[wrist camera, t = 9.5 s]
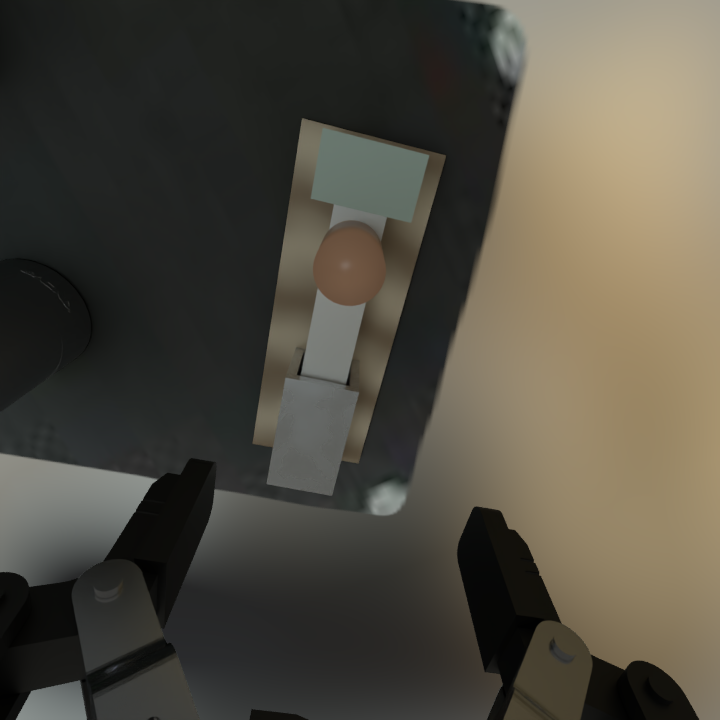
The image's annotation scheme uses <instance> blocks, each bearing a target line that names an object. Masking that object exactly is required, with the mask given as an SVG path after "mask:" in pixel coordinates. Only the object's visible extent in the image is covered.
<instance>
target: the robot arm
mask: <svg viewBox="0 0 720 720" xmlns="http://www.w3.org/2000/svg"><path fill="white" fill-rule="evenodd" d="M90 335H91V321H90V316H89V312H88V310H87V308H86V305H85V303H84V301H83V299H82V298H81V296H80V295H79V294H78V292H77V291H76V289H75V288H74V287H73V286H72V285H71V284H70V283H69V282H68V281H67V280H66V279H64V278H63V277H62V276H61V275H59V274H58V273H57V272H55V271H53V270H51V269H50V268H48V267H46V266H44V265H42V264H39V263H36V262H33V261H29V260H22V259H5V260H2V261H0V412H1V411H3V410H4V409H5V408H7V407H8V406H10V405H11V404H12V403H14V402H15V401H17V400H18V399H19V398H21V397H22V396H24V395H25V394H26V393H28V392H29V391H31V390H32V389H33V388H35V387H36V386H38V385H39V384H40V383H42V382H43V381H45V380H46V379H48V378H49V377H51V376H52V375H53V374H55V373H56V372H58V371H59V370H60V369H62V368H63V367H64V366H66V365H67V364H69V363H70V362H71V361H73V360H74V359H76V358H77V357H78V356H79V355H80V354H81V353H82V352H83V351H84V350H85V348H86V346H87V345H88V343H89V339H90ZM215 477H216V462H211V461H205V460H199V459H193V458H191V459H189V461H188V462H187V464H186V466H185V468H184V470H183V471H182V473H181V475H178V474H172V473H167V474H165V475H164V476H162V477H161V478H160V479H158V480H157V481H156V482H154V483H153V484H152V485H151V487H150V488H149V490H148V492H147V493H146V495H145V497H144V499H143V501H141V503H140V504H139V506H138V508H137V509H136V512H135V513H134V514H133V516H132V517H131V519H130V520H129V522H128V524H127V525H126V527H125V528H124V530H123V532H122V533H121V535H120V536H119V538H118V539H117V541H116V543H115V544H114V546H113V548H112V549H111V551H110V552H109V554H108V555H107V557H106V558H105V560H104V561H103V562H100V563H98V564H96V565H94V566H92V567H90V568H89V569H88V570H86V571H85V572H84V573H83V574H82V575H81V576H80V577H79V578H77V579H74V580H71V581H67V582H61V583H55V584H47V585H41V586H33V587H29V586H28V583H27V581H26V579H25V578H24V577H22V576H20V575H18V574H16V573H10V572H0V720H16V718H17V716H18V714H19V713H20V711H21V709H22V707H23V705H24V703H25V701H26V700H27V698H28V696H29V694H30V692H31V691H33V690H37V689H42V688H46V687H51V686H55V685H60V684H65V683H69V682H74V681H78V680H80V682H81V688H82V694H83V699H84V705H85V711H86V716H87V720H200V719H199V716H198V713H197V710H196V707H195V704H194V701H193V698H192V696H191V693H190V690H189V687H188V684H187V681H186V678H185V676H184V673H183V670H182V667H181V664H180V662H179V659H178V656H177V653H176V651H175V649H174V647H173V645H172V644H171V643H169V644H167V643H166V641H165V639H164V636H163V633H162V630H161V628H165V625H166V622H167V620H168V618H169V615H170V613H171V611H172V608H173V606H174V603H175V601H176V599H177V596H178V594H179V591H180V589H181V586H182V584H183V582H184V579H185V577H186V574H187V572H188V569H189V567H190V564H191V562H192V560H193V557H194V555H195V552H196V550H197V547H198V545H199V543H200V540H201V538H202V535H203V533H204V530H205V528H206V526H207V523H208V520H209V517H210V514H211V510H212V505H213V498H214V488H215ZM457 557H458V564H459V568H460V572H461V576H462V581H463V584H464V589H465V592H466V597H467V601H468V605H469V609H470V613H471V617H472V621H473V625H474V630H475V633H476V637H477V642H478V646H479V650H480V654H481V658H482V662H483V666H484V670H485V672H489V673H497V674H500V675H501V679H502V683H503V685H502V687H501V688H500V690H499V692H498V694H497V697H496V699H495V701H494V704H493V706H492V708H491V711H490V713H489V716H488V718H487V720H699V718H698V717H697V716H696V713H695V711H694V709H693V708H692V706H691V704H690V702H689V701H688V699H687V697H686V695H685V694H684V692H683V691H682V689H681V688H680V687H679V686H678V684H677V683H676V682H675V681H674V680H673V679H672V678H671V677H670V676H669V675H668V674H666V673H665V672H664V671H663V670H661V669H660V668H658V667H656V666H655V665H653V664H650V663H648V662H644V661H634V662H631V663H630V664H629V665H628V667H627V668H626V669H625V670H623V669H621V668H619V667H617V666H614V665H612V664H610V663H607V662H605V661H603V660H601V659H599V658H597V657H595V656H593V655H591V654H590V652H589V650H588V648H587V646H586V645H585V643H584V642H583V641H582V639H581V638H580V637H579V636H578V635H577V634H576V633H575V632H574V631H572V630H571V629H570V628H568V627H567V626H565V625H563V624H562V623H561V621H560V619H559V617H558V614H557V612H556V610H555V607H554V605H553V603H552V601H551V598H550V596H549V594H548V592H547V589H546V587H545V584H544V582H543V580H542V578H541V576H539V571H538V568H537V566H536V564H535V563H534V559H533V557H532V555H531V552H530V550H529V548H528V545H527V544H526V543H525V541H524V540H523V539H522V538H521V537H520V536H519V534H518V533H517V532H516V531H515V530H510V529H508V527H507V524H506V522H505V520H504V517H503V515H502V513H501V511H499V510H494V509H488V508H482V507H474V508H473V510H472V512H471V514H470V517H469V519H468V521H467V524H466V526H465V529H464V531H463V533H462V536H461V538H460V541H459V544H458V550H457ZM250 720H308V719H305V718H303V717H301V716H299V715H296V714H288V713H279V712H270V711H262V710H253V709H252V711H251V715H250Z"/></svg>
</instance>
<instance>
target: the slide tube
mask: <svg viewBox="0 0 720 720" xmlns="http://www.w3.org/2000/svg"><path fill="white" fill-rule="evenodd" d="M386 219H387V217H385V216H381V215H376V214H372V213H368V212H364V211H360V210H356V209H352V208H347V207H343V206H339V205H335V204H334V207H333V212H332V217H331V222H330V227H329V231H328V232H327V233H326V235H325V236H324V238H323V240H322V243H321V245H320V247H319V249H318V251H317V254H316V256H315V259H314V263H313V276H314V280H315V283H316V285H317V287H318V289H317V294H316V300H315V305H314V310H313V315H312V320H311V325H310V331H309V336H308V341H307V346H306V351H305V356H304V361H303V367H302V372H301V376H304V377H309V378H313V379H318V380H323V381H328V382H333V383H338V384H343V385H346V382H347V378H348V373H349V369H350V365H351V361H352V357H353V353H354V349H355V345H356V341H357V337H358V333H359V329H360V325H361V321H362V317H363V313H364V308H365V304H366V302H367V301H369V300H371V299H372V298H373V297H374V296H375V295H376V294H377V293H378V292H379V291H380V289H381V288H382V285H383V283H384V280H385V276H386V264H385V260H384V255H383V250H382V245H381V239H382V235H383V231H384V227H385V223H386Z"/></svg>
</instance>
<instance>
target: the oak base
mask: <svg viewBox="0 0 720 720" xmlns="http://www.w3.org/2000/svg"><path fill="white" fill-rule="evenodd" d="M323 128H326V129H330V130H334V131H337V132H341V133H345V134H349V135H353V136H357V137H361V138H365V139H368V140H372V141H376V142H380V143H384V144H388V145H392V146H396V147H399V148H403V149H407V150H411V151H415V152H419V153H423V154H427V155H429V158H428V162H427V166H426V170H425V173H424V177H423V181H422V184H421V188H420V192H419V195H418V199H417V203H416V207H415V210H414V214H413V218H412V221H411V223H409V222H405V221H401V220H397V219H393V218H389V217H387V219H386V223H385V227H384V231H383V235H382V239H381V245H382V250H383V255H384V260H385V264H386V276H385V280H384V283H383V285H382V288H381V289H380V291H379V292H378V293H377V294H376V295H375V296H374V297H373V298H372V299H371V300H369V301H367V302H366V304H365V308H364V313H363V317H362V321H361V325H360V329H359V333H358V337H357V341H356V345H355V349H354V353H353V357H352V359H354V360H359V361H360V363H359V395H358V399H357V402H356V406H355V410H354V414H353V418H352V421H351V425H350V429H349V433H348V437H347V440H346V444H345V448H344V452H343V456H342V459H341V460H342V461H348V462H353V463H359V460H360V456H361V453H362V449H363V446H364V442H365V439H366V435H367V432H368V428H369V424H370V421H371V417H372V414H373V410H374V407H375V403H376V400H377V396H378V393H379V389H380V386H381V382H382V379H383V375H384V372H385V368H386V365H387V361H388V358H389V354H390V351H391V347H392V344H393V340H394V337H395V333H396V330H397V326H398V323H399V319H400V316H401V312H402V309H403V305H404V302H405V298H406V295H407V291H408V288H409V284H410V281H411V277H412V274H413V270H414V267H415V263H416V260H417V256H418V253H419V249H420V246H421V242H422V239H423V235H424V232H425V228H426V225H427V221H428V218H429V214H430V211H431V207H432V204H433V200H434V197H435V193H436V190H437V186H438V183H439V179H440V176H441V172H442V169H443V165H444V162H445V158H446V155H442V154H438V153H434V152H430V151H426V150H422V149H419V148H415V147H411V146H407V145H403V144H399V143H395V142H392V141H388V140H384V139H380V138H376V137H372V136H368V135H365V134H361V133H357V132H353V131H349V130H345V129H341V128H338V127H334V126H330V125H326V124H322V123H318V122H314V121H310V120H307V119H303V118H302V123H301V129H300V136H299V143H298V149H297V156H296V162H295V169H294V175H293V182H292V189H291V195H290V202H289V208H288V215H287V221H286V228H285V235H284V241H283V248H282V254H281V261H280V267H279V274H278V281H277V287H276V294H275V300H274V307H273V313H272V320H271V326H270V333H269V340H268V346H267V353H266V359H265V366H264V372H263V379H262V386H261V392H260V399H259V405H258V412H257V418H256V425H255V432H254V438H253V444H257V445H263V446H268V447H273V445H274V440H275V434H276V428H277V423H278V417H279V411H280V406H281V400H282V395H283V389H284V383H285V378H286V375H287V372H288V369H289V366H290V363H291V360H292V357H293V354H294V351H295V348H296V347H297V348H302V349H306V346H307V341H308V336H309V331H310V325H311V320H312V315H313V310H314V305H315V300H316V294H317V289H318V287H317V285H316V283H315V280H314V276H313V263H314V259H315V256H316V254H317V251H318V249H319V247H320V245H321V243H322V240H323V238H324V236H325V235H326V233H327V232H328V231H329V227H330V222H331V217H332V212H333V207H334V204H331V203H327V202H323V201H319V200H314V199H311V193H312V187H313V182H314V176H315V170H316V164H317V158H318V152H319V147H320V141H321V135H322V129H323Z"/></svg>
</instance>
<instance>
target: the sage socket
mask: <svg viewBox="0 0 720 720" xmlns="http://www.w3.org/2000/svg"><path fill="white" fill-rule="evenodd" d="M428 158H429V155H427V154H423V153H419V152H415V151H411V150H407V149H403V148H399V147H396V146H392V145H388V144H384V143H380V142H376V141H372V140H368V139H365V138H361V137H357V136H353V135H349V134H345V133H341V132H337V131H334V130H330V129H326V128H323V129H322V135H321V141H320V147H319V152H318V158H317V164H316V170H315V176H314V182H313V187H312V193H311V199H314V200H319V201H323V202H327V203H331V204H335V205H339V206H343V207H347V208H352V209H356V210H360V211H364V212H368V213H372V214H376V215H381V216H385V217H389V218H393V219H397V220H401V221H405V222H409V223H411V221H412V218H413V214H414V210H415V207H416V203H417V199H418V195H419V192H420V188H421V184H422V181H423V177H424V173H425V170H426V166H427V162H428Z"/></svg>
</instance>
